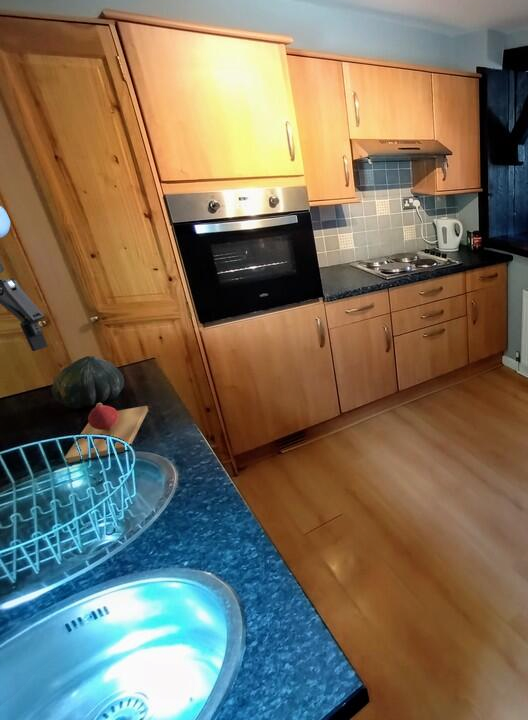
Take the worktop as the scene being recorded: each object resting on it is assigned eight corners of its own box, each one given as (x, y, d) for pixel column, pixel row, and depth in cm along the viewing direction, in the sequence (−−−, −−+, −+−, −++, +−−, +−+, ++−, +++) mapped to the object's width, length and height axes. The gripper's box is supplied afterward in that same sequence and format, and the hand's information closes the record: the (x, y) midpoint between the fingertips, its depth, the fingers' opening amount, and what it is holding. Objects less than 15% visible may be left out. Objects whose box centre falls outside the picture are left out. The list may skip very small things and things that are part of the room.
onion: (103, 438, 114) (91, 412, 111) (88, 433, 116) (77, 407, 113) (128, 426, 119) (117, 400, 116) (113, 421, 121) (103, 395, 118)
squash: (37, 389, 127) (44, 360, 120) (98, 368, 140) (108, 340, 133) (71, 426, 127) (80, 399, 120) (129, 402, 141) (140, 375, 133)
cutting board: (66, 463, 108) (63, 458, 107) (95, 419, 124) (93, 414, 123) (128, 450, 112) (126, 445, 112) (148, 409, 129) (146, 405, 128)
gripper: (41, 255, 98) (78, 343, 107) (-55, 249, 101) (-12, 336, 110) (1, 263, 91) (43, 357, 100) (-101, 258, 94) (-51, 349, 103)
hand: (14, 346), depth 105 cm, fingers open, 13 cm apart
